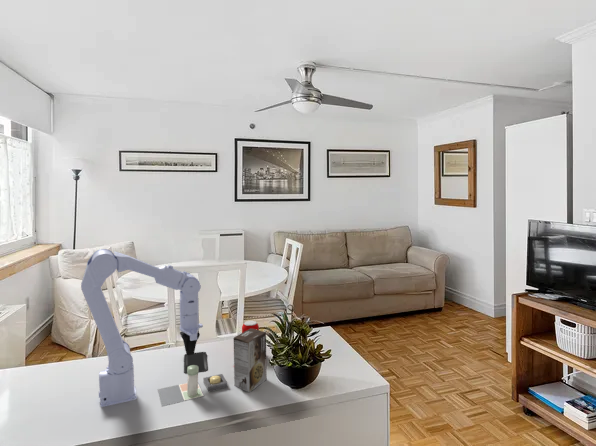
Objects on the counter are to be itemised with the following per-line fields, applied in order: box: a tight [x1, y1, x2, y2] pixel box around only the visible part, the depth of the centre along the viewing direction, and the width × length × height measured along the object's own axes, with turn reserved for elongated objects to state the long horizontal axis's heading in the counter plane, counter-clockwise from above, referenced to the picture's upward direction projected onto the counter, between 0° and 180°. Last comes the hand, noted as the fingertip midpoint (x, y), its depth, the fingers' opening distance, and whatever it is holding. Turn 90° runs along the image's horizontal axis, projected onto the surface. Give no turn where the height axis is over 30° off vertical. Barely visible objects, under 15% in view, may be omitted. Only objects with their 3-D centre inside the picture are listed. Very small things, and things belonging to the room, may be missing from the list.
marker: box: [186, 365, 199, 397], centre depth 115 cm, size 3×3×8 cm
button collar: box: [203, 373, 228, 393], centre depth 120 cm, size 6×6×2 cm
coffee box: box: [233, 328, 267, 393], centre depth 122 cm, size 9×6×16 cm
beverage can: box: [241, 320, 260, 333], centre depth 143 cm, size 6×6×12 cm
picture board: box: [157, 382, 205, 407], centre depth 116 cm, size 12×10×1 cm
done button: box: [210, 375, 221, 385], centre depth 120 cm, size 3×3×2 cm
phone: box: [183, 351, 209, 375], centre depth 135 cm, size 8×1×15 cm
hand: (190, 354), depth 123 cm, fingers closed
